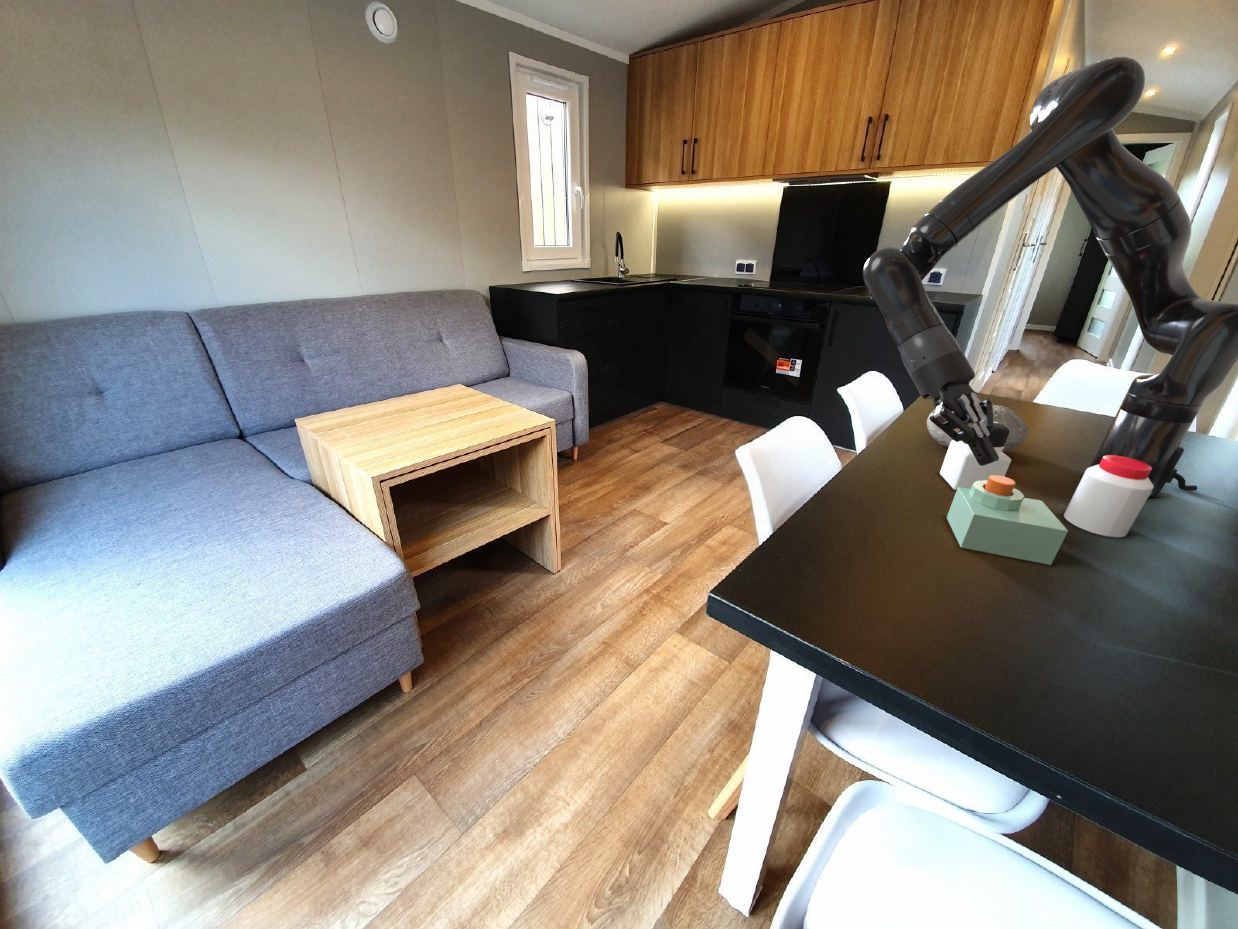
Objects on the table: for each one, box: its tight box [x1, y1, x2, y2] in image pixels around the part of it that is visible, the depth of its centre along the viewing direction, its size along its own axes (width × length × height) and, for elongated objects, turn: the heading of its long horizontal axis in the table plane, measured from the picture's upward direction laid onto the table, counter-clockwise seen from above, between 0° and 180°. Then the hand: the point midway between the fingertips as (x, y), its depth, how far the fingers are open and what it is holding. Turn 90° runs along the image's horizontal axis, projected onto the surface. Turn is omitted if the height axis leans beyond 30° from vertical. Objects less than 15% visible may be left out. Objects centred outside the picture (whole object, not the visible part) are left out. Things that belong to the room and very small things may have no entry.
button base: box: [946, 480, 1069, 566], centre depth 72 cm, size 11×9×8 cm
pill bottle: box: [1063, 455, 1154, 538], centre depth 76 cm, size 8×8×11 cm
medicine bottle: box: [939, 422, 1012, 491], centre depth 88 cm, size 7×7×12 cm
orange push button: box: [985, 475, 1016, 496], centre depth 72 cm, size 3×3×2 cm
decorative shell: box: [926, 403, 1029, 454], centre depth 105 cm, size 18×18×10 cm
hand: (990, 463), depth 72 cm, fingers closed
